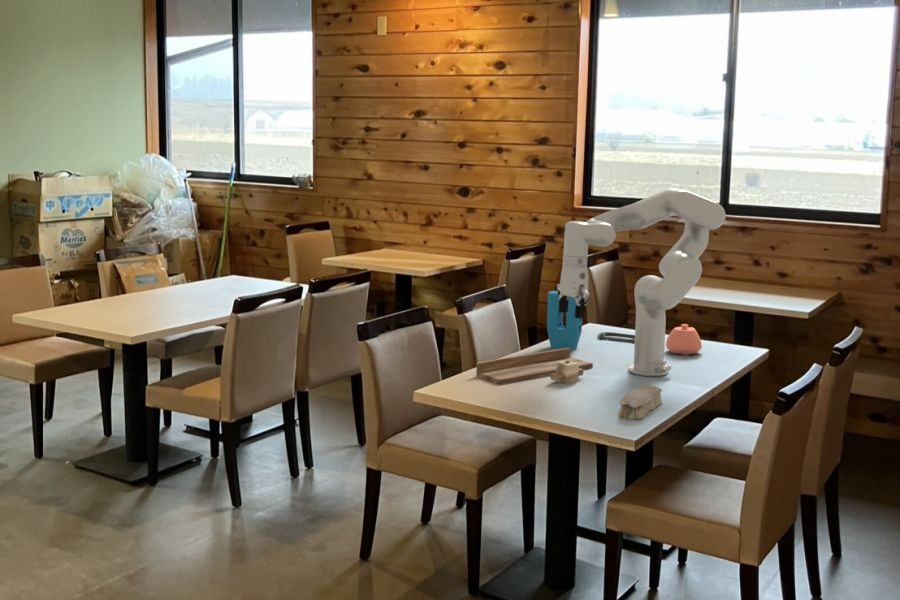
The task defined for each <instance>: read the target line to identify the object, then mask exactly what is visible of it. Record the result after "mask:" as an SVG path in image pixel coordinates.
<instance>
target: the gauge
mask: <svg viewBox="0 0 900 600" xmlns="http://www.w3.org/2000/svg"><path fill="white" fill-rule="evenodd" d="M580 376H584V369H580V368H579V363H577V362H573V361H570V360H565V361H559V362H556V373H551V375H550V380H552V381H556V382H559V383H563V384H565V385H566V384H567V385H568V384H573V383H578V382H579V377H580Z"/></svg>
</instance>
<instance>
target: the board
mask: <svg viewBox="0 0 900 600" xmlns="http://www.w3.org/2000/svg"><path fill="white" fill-rule="evenodd" d="M565 360H570V361H573V362H577V363H579V368H580V369H583V370H588V369H592V368H593V367H594V364H593V362H590V361H585V360H582V359H580V358H575V357H572V356H571V348H564V349H552V350H546V351H540V352H534V353H528V354H522V355H514V356H509V357H508V356H507V357H503V358H498V359H490V360H485V361H484V360H483V361H479V362H476V377H478V378H480V379H483V380H485V381H489V382H491V383H493V384H497V385H506V384H511V383H515V382H517V383H518V382H522V381H526V380H527V381H528V380H532V379H539V378H543V377H549V376H550V377H551V373H556V362H559V361H565Z"/></svg>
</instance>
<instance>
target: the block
mask: <svg viewBox="0 0 900 600" xmlns="http://www.w3.org/2000/svg"><path fill="white" fill-rule="evenodd" d="M558 297H559V295H558V290H551V291H548V292H547V316H546V318H547V319H546V322H547V323H546V331H547V334H548V335H547V336H548V340H549V345H550V348H551V349H553V350H558V349H564V348H571V351H575V350H577V349H578V345H579V342H580V337H581V336H582V332H583V331H582V330H583V318H575V307H576V305H577V303H576V300H575V299H574V298H570V297H568V299H567V300H569V301H568V312H563V313H560V312H558V310H559V299H558ZM580 300H581V299H579V301H580ZM564 313H565V314H566V315H565V318H566V319H565V326H564Z"/></svg>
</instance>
